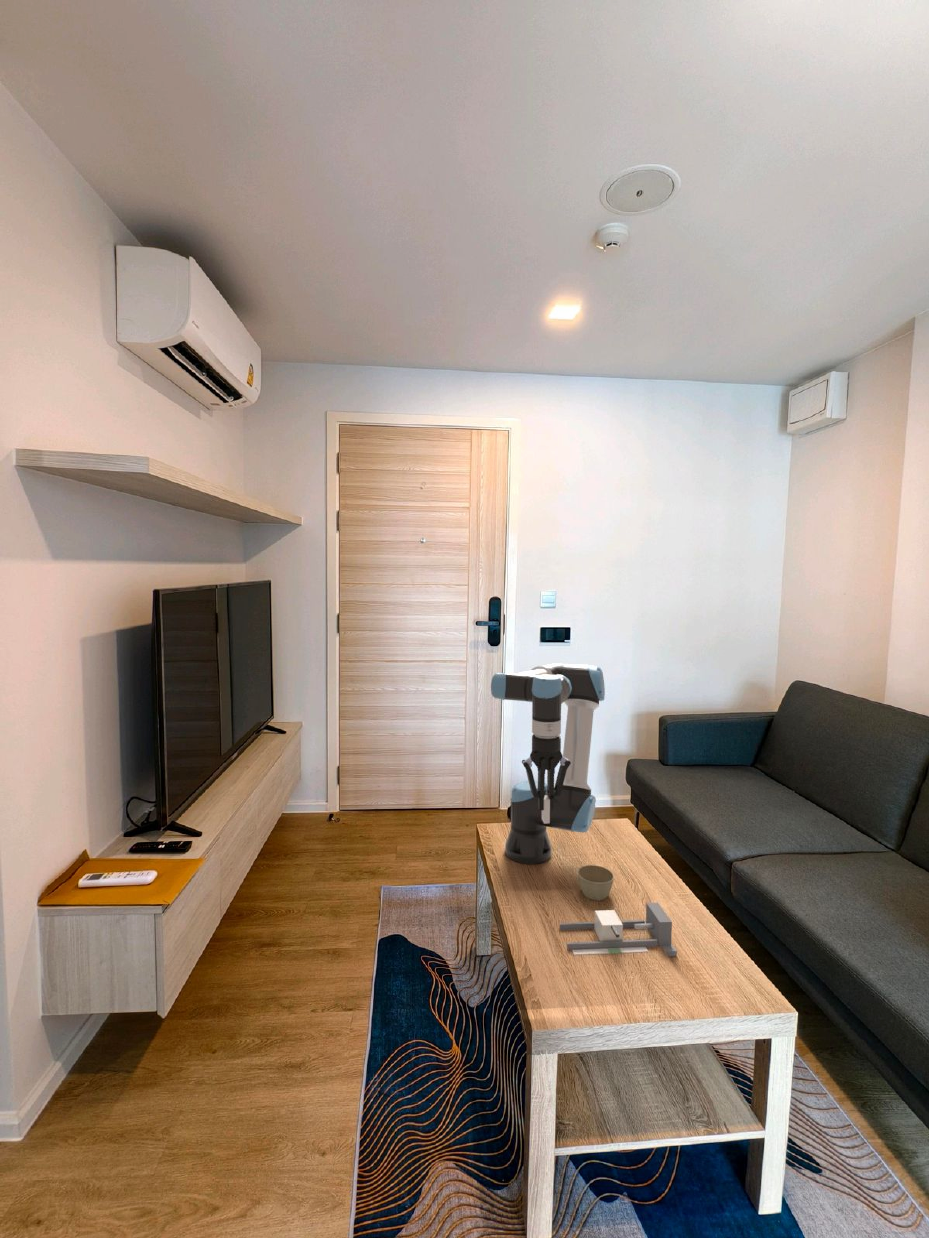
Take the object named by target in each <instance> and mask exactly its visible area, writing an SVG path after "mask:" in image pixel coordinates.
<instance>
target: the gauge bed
mask: <svg viewBox="0 0 929 1238" xmlns="http://www.w3.org/2000/svg"><path fill="white" fill-rule="evenodd" d="M645 905H646V908H645V919H634V920H633V919H632V920H620V921H621V922H622V924H623V929H624V928H634V929H635V930H648V931H649V933H650V935H652V937H653V938H652V939H651V938H649V939H627V940H626V939H624V940H623V939H622V940H620V941H600V940H598V941H595V940H594V941H577V942H567V943H566V945H567V946H566V948H567V951H572V954H573V956H580V955H581V956H582V955H586V956H587V955H603V954H604V955H607V954H626V953H627V954H628V953H629V954H631V953H649V950H648V948H647V947H649V948H651V947H652V948H653V947H654V948H655V947H658V946H659V947H661V948H662V949H663V951H664V952H665V954H666V955H667V957H677V956H678V950H677V949H676V948H675V946H674V945H673V943H672V934H673V933H672V932H673V931H672V930H673V929H672V928H673V925H672V924H673V921H672V920H671V919H670V917H669V916H668V915H667V913H666V912H665V910H664V909H663V908H662V906H661V905H660V904H659V902H646V904H645ZM558 926H559V931H568V930H569V931H571V930H593V929H595V921H583V922H581V921H578V922H559V925H558Z"/></svg>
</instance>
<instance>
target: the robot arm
mask: <svg viewBox="0 0 929 1238" xmlns="http://www.w3.org/2000/svg"><path fill="white" fill-rule="evenodd" d="M490 693H491V695H492V697H493V698H494V699H498V700H503V701H505V700H506V701H518V702H519V701H521V702H529V703H532V705H531V706H532V708H531V709H532V710H531V714H532V716H531V717H532V718H531V732H532V733H531V734H532V736H531V752H530V754H529V757H528V758H526V759H522V760H521V764H522V766H523V767H524V768H525V773H526V776H527V780H523V781H520V782H518V783H516V784H515V785H514V786H513V787H512V788H511V796H510V830H509V833H508V836H507V839H506V842H505V844H504V845H505V846H504V851H505V855H506V857H508V858H509V859H510V860H512V861H513V862H516V863H520V864H525V865H536V864H542V863H546V862H547V861H548V860H549V859H550V858H551V857H552V845H551V842H550V837H549V835H548V832H547V827H548V828H553V829H558V830H563V831H568V832H571V833H574V832H575V833H587V832H588V830H589V829H590V827H591V826H592V823H593V819H594V815H595V810H596V799H597V798H596V796H595V795H593V794H592V788H591V787H590V786H589V784H588V776H589V765H590V755H591V743H592V731H593V722H594V721H593V720H594V711H595V710H596V709H597V708H599V706H600V702H603V701H604V700H605V697H606V696H605V695H606V694H605V693H606V691H605V679H604V673H603V670H602V668H601V667H600V666H596V665H589V664H572V663H571V664H570V663H569V664H568V663H557V662H556V663H550V664H544V665H538V666H535V667H533V668H531V669H530V670H527V671H520V672H515V673H507V672H506V673H505V672H497V673H494V674H493V676H492V678H491V682H490ZM563 703H564V704H565V705H566V706H567V713H566V721H565V733H564V741H563V749H562V746H561V745H562V737H561V733H562V716H561V715H562V704H563ZM561 749H562V751H561ZM532 762H533V763H532ZM533 764H534V765H535V766H536V768H537V779H535V777H534V774H533V770H532V767H533ZM558 764H560V765H559V768H558V771H557V776H556V780H555V773H556V767H558ZM546 771H547V773H546ZM546 775H547V776H546ZM545 776H546V777H547V778H546V777H545ZM545 778H546V779H545ZM545 780H547V781H545Z"/></svg>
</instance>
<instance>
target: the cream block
mask: <svg viewBox="0 0 929 1238" xmlns="http://www.w3.org/2000/svg"><path fill="white" fill-rule="evenodd" d="M621 921H622V920H621V919H620V917H619V916H618V914H617V912H616V911H615V909H611V910H610V909H606V910H605V909H603V910H594V922H595V929H594V932H595V934H596V936H597V938H598V941H620V940H623V933H624V932H623V929H624V928H623V924H622V922H621Z"/></svg>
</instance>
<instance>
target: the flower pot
mask: <svg viewBox="0 0 929 1238" xmlns="http://www.w3.org/2000/svg"><path fill="white" fill-rule="evenodd" d="M577 880H578V883H579V886H580V890H581V891H582V893H583V895H584V897H586V898H587V899H590V900H593V901H603V900H605V899H607V897H608V895H609V894H610V892H611V890H612V887H613V884H614V880H615V875H614V873H613V872H612V871H611V870H610V869H608V868H606V867H604V866H602V865H596V864H595V865H594V864H587V865H582V866H580V867H579V868H578V869H577Z"/></svg>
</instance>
